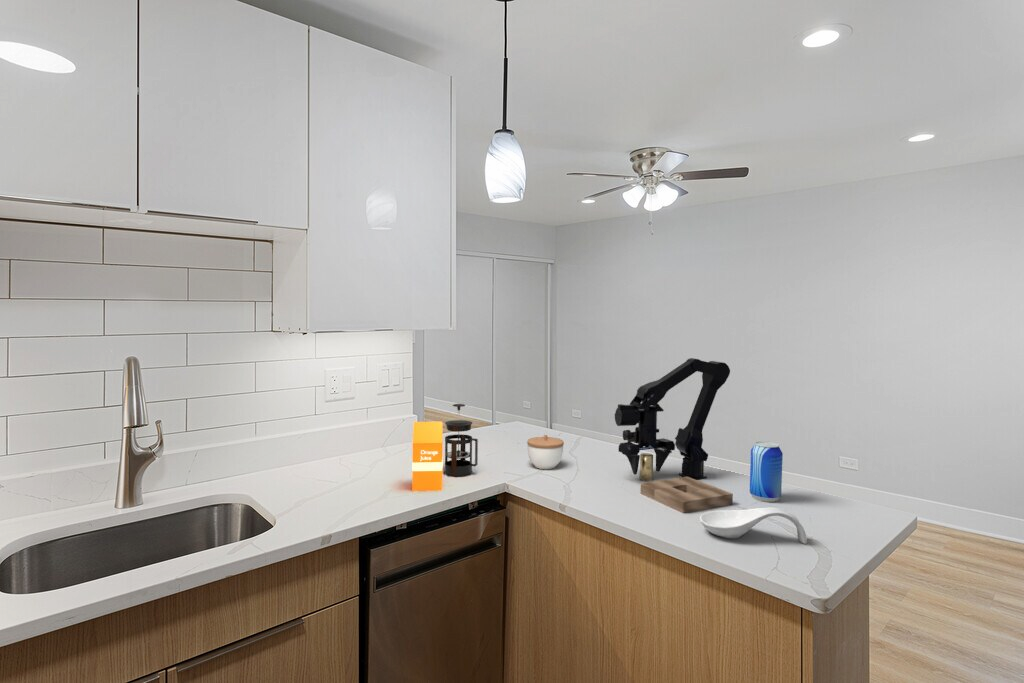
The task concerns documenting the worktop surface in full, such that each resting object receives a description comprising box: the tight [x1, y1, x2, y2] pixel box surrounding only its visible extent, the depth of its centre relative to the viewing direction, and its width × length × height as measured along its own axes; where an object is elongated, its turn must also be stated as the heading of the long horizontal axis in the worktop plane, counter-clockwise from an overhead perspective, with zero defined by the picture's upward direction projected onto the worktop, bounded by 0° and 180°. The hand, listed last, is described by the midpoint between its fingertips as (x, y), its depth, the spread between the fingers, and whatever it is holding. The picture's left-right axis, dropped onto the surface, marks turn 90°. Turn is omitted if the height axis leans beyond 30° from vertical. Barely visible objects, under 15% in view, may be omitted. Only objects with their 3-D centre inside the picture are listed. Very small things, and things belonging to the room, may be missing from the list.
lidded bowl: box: [526, 434, 565, 470], centre depth 194 cm, size 13×13×11 cm
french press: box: [443, 403, 479, 478], centre depth 184 cm, size 12×9×23 cm
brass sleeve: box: [639, 452, 654, 482], centre depth 180 cm, size 4×4×8 cm
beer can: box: [749, 441, 783, 503], centre depth 162 cm, size 8×8×16 cm
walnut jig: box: [640, 476, 734, 514], centre depth 161 cm, size 18×18×3 cm
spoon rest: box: [699, 506, 808, 545], centre depth 135 cm, size 24×12×7 cm, turn 77°
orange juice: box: [411, 421, 444, 492], centre depth 169 cm, size 8×9×20 cm
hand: (646, 472), depth 180 cm, fingers open, 9 cm apart
